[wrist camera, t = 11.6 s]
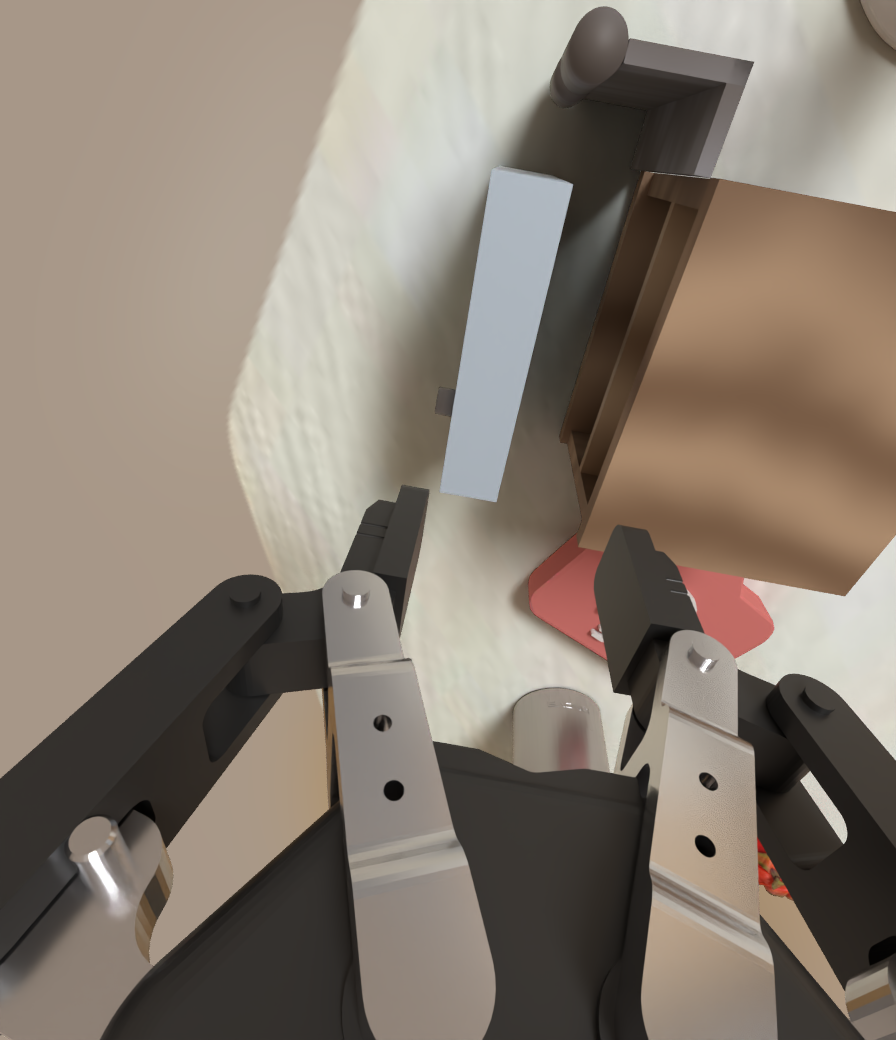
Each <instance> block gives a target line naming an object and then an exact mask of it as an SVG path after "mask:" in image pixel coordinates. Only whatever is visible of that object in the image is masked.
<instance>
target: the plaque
mask: <svg viewBox="0 0 896 1040" xmlns="http://www.w3.org/2000/svg"><path fill="white" fill-rule="evenodd" d="M576 535H577V533H576V534H575V535H574V536H573V537H572V538H571V539H569V540H568V541H567V542H566V543H565V544H564V545H563V546H561V547H560V548H559V549H558V550H557V551H556V552H555V553H553V554H552V555H551V556H550V557H549V558H548V559H547V560H545V561H544V562H543V563H542V564H541V565H540V566H539V567H538V568H536V569H535V570H534V571H533V573H532V574H531V575H530V578H529V582H528V588H529V604H530V609H531V611H532V612H533V613H534V615H535V616H537V617H538V618H540V619H542V620H543V621H545V622H546V623H548V624H549V625H551V626H553V627H554V628H556V629H557V630H559V631H561V632H562V633H564V634H565V635H567V636H569V637H570V638H572V639H573V640H575V641H577V642H578V643H580V644H581V645H583V646H585V647H586V648H588V649H589V650H591V651H593V652H594V653H596V654H597V655H599V656H601V657H602V658H604V659H605V660H607V656H606V651H605V646H604V641H603V636H602V631H601V626H600V621H599V615H598V610H597V605H596V600H595V595H594V578H595V573H596V570H597V567H598V565H599V562H600V560H601V558H602V555H603V553H604V552H602V551H597V550H591V549H586V548H581V547H578V543H577V537H576ZM676 566H677V567H678V570H679V572H680V575H681V577H682V580H683V584H685V587H686V589H687V592H688V594H687V595H688V596H689V597H690V599H691V601H692V604H693V606H694V609H695V611H696V613H697V616H698V618H699V621H700V623H701V626H702V628H703V630H704V633H705V634H706V635H708V636H710V637H712V638H714V639H716V640H717V641H718V642H720V643H721V644H722V645H723V646H725V647H726V648H727V649H728V650H729V651H730V653H731V654H732V655H733V657H734V659H735V658H737V657H739V656H741V655H742V654H744V653H746V652H748V651H750V650H751V649H753V648H755V647H757V646H759V645H760V644H762V643H763V642H765V641H766V640H767V639H768V638H769V637H770V636H771V634H772V633H773V631H774V625H773V621H772V619H771V617H770V615H769V614H768V612H767V610H766V608H765V607H764V605H763V603H762V601H761V600H760V598H759V596H757V595H756V594H755V593H754V592H752V591H751V590H750V589H748V588H747V587H746V586H745V585H743V580H744V578H743V577H738V576H732V575H727V574H721V573H716V572H711V571H705V570H700V569H694V568H689V567H683V566H678V565H676Z"/></svg>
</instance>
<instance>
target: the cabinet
mask: <svg viewBox="0 0 896 1040" xmlns="http://www.w3.org/2000/svg"><path fill="white" fill-rule="evenodd" d="M753 64H754V62H751V61H746V60H741V59H736V58H730V57H725V56H720V55H715V54H710V53H704V52H699V51H694V50H689V49H683V48H678V47H673V46H668V45H662V44H657V43H652V42H647V41H641V40H636V39H631V38H630V39H629V40H628V29H627V25H626V22H625V20H624V18H623V17H622V15H621V14H620V13H619V12H618V11H617V10H615V9H613V8H611V7H598V8H595V9H593V10H591V11H590V12H588V13H587V14H586V15H585V16H584V17H583V18H582V19H581V20H580V22H579V23H578V25H577V26H576V28H575V31H574V33H573V35H572V37H571V39H570V41H569V43H568V45H567V47H566V49H565V51H564V53H563V56H562V58H561V59H560V61H559V63H558V65H557V67H556V69H555V71H554V73H553V75H552V78H551V81H550V95H551V98H552V100H553V102H554V103H555V104H556V105H557V106H559V107H561V108H571V107H573V106H575V105H576V104H578V103H579V102H580V101H581V100H582V99H589V100H594V101H600V102H605V103H610V104H615V105H621V106H626V107H631V108H636V109H642V110H647V113H646V117H645V120H644V124H643V127H642V130H641V134H640V137H639V140H638V144H637V147H636V150H635V154H634V157H633V161H632V164H631V167H630V169H633V170H639V171H641V172H640V176H639V179H638V182H637V185H636V189H635V192H634V195H633V198H632V202H631V205H630V208H629V211H628V215H627V218H626V221H625V224H624V228H623V231H622V234H621V237H620V240H619V244H618V247H617V250H616V253H615V257H614V260H613V263H612V266H611V270H610V273H609V276H608V279H607V283H606V286H605V289H604V292H603V296H602V299H601V302H600V305H599V309H598V312H597V315H596V318H595V322H594V325H593V328H592V331H591V335H590V338H589V341H588V344H587V348H586V351H585V354H584V357H583V361H582V364H581V367H580V370H579V374H578V377H577V380H576V383H575V387H574V390H573V393H572V396H571V400H570V403H569V406H568V409H567V413H566V416H565V419H564V422H563V426H562V429H561V432H560V435H559V438H560V443H566V444H567V445H568V450H569V455H570V460H571V466H572V471H573V476H574V481H575V486H576V491H577V496H578V501H579V507H580V512H581V517H582V521H581V524H580V527H579V529H578V532H577V535H576V537H577V543H578V547H581V548H586V549H591V550H597V551H602V552H604V551H605V548H606V546H607V543H608V541H609V539H610V536H611V534H612V532H613V530H614V528H615V527H616V526H617V525H624V526H629V527H634V528H640V529H645V530H647V531H648V532H649V534H650V537H651V540H652V542H653V545H654V548H655V550H656V551H661V552H664V553H665V554H666V555H667V556H668V557H669V558H670V559H671V560H672V561H673V562H674V564H675V565H678V566H683V567H689V568H694V569H700V570H705V571H711V572H716V573H721V574H727V575H732V576H738V577H743V578H749V579H754V580H759V581H765V582H770V583H776V584H781V585H786V586H792V587H797V588H803V589H808V590H814V591H819V592H824V593H830V594H835V595H841V596H846V594H847V593H848V592H849V591H850V590H851V588H852V587H853V586H854V585H855V583H856V582H857V581H858V580H859V579H860V577H861V576H862V575H863V574H864V573H865V571H866V570H867V569H868V568H869V567H870V565H871V564H872V563H873V562H874V561H875V559H876V558H877V557H878V556H879V555H880V553H881V552H882V551H883V550H884V549H885V547H886V546H887V545H888V544H889V542H890V541H891V540H892V539H893V538H894V536H895V535H896V212H892V211H887V210H881V209H876V208H871V207H866V206H860V205H855V204H850V203H845V202H839V201H834V200H829V199H823V198H818V197H813V196H808V195H802V194H797V193H792V192H786V191H781V190H776V189H771V188H765V187H760V186H755V185H749V184H744V183H739V182H734V181H728V180H723V179H716V178H711V175H712V173H713V170H714V167H715V165H716V162H717V159H718V157H719V154H720V152H721V149H722V146H723V144H724V141H725V138H726V136H727V133H728V130H729V128H730V125H731V122H732V120H733V117H734V114H735V112H736V109H737V106H738V104H739V101H740V98H741V96H742V93H743V90H744V88H745V85H746V82H747V80H748V77H749V74H750V72H751V69H752V66H753ZM646 171H647V172H646ZM651 172H656V173H651ZM658 173H666V174H658ZM667 174H676V175H667ZM677 175H686V176H696V177H706V178H710V179H705V178H695V177H686V176H677Z"/></svg>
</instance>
